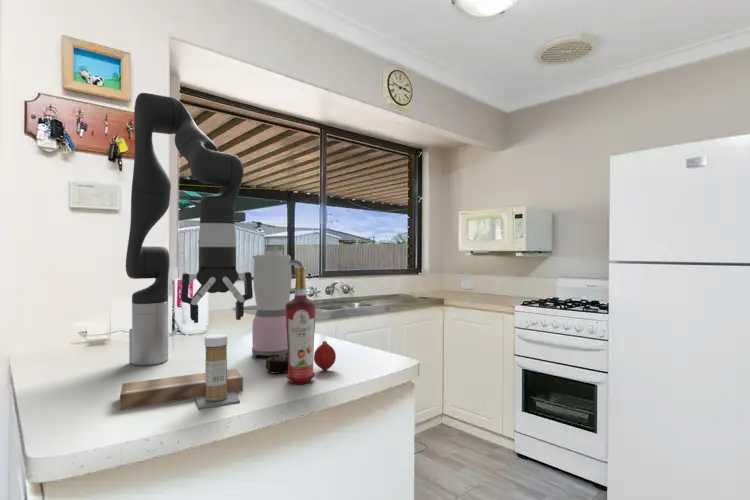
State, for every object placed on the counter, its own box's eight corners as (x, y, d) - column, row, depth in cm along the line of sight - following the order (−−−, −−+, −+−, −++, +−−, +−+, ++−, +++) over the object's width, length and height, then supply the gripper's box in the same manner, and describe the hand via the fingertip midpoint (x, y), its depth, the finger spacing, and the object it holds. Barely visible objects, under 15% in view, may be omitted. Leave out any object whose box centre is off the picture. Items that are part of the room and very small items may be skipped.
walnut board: (120, 409, 84) (120, 394, 84) (122, 397, 91) (122, 383, 91) (242, 390, 96) (242, 376, 96) (236, 380, 103) (236, 368, 103)
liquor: (314, 375, 107) (314, 266, 107) (317, 384, 99) (316, 267, 99) (285, 377, 105) (285, 266, 105) (285, 387, 98) (285, 267, 98)
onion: (314, 367, 114) (314, 338, 114) (335, 367, 114) (335, 338, 114) (313, 374, 108) (313, 343, 108) (335, 373, 109) (335, 342, 109)
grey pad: (198, 409, 84) (198, 407, 84) (195, 398, 90) (195, 396, 90) (239, 402, 88) (239, 400, 88) (234, 392, 94) (234, 390, 94)
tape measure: (293, 374, 108) (293, 360, 108) (266, 377, 106) (266, 362, 106) (291, 367, 115) (291, 354, 115) (265, 369, 113) (265, 355, 113)
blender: (246, 359, 123) (245, 250, 123) (258, 349, 135) (258, 250, 135) (299, 359, 123) (299, 250, 123) (306, 349, 135) (306, 250, 135)
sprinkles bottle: (228, 394, 92) (228, 333, 92) (226, 401, 88) (226, 337, 88) (206, 395, 91) (206, 334, 91) (203, 403, 87) (202, 338, 87)
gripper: (182, 245, 83) (182, 326, 83) (255, 245, 89) (255, 321, 89) (179, 245, 89) (179, 320, 89) (248, 245, 96) (248, 315, 96)
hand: (217, 320), depth 89 cm, fingers open, 8 cm apart
